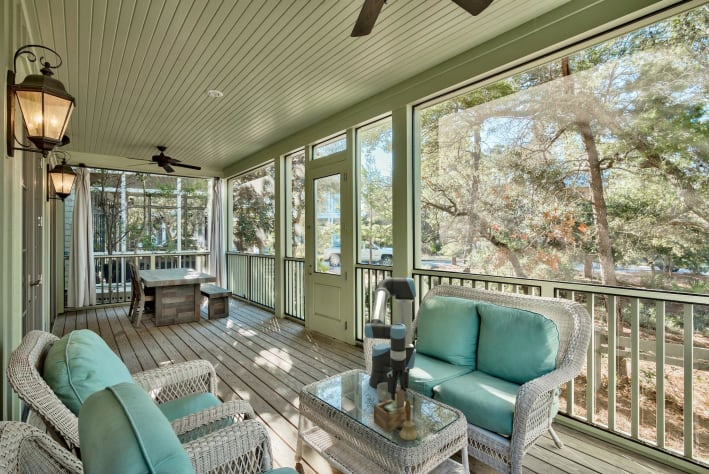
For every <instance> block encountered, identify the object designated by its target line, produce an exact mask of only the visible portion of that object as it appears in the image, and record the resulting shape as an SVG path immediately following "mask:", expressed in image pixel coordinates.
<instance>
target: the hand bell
mask: <svg viewBox="0 0 709 474" xmlns="http://www.w3.org/2000/svg"><path fill="white" fill-rule="evenodd" d="M405 402H406V404H405V410H406V414H407V416H406V419H407V421H405V422H404V424H403V426H402V429H401V430H400V431H399V432H398V433H399V436H400V438H401V439H403V440H404V441H413V440H416V439H417V438H418V433H417V431H416V430H415V427H414V423H413V421H410V413H411V412H412V411H411V410H412V409H411V402H410V400H409V399H406V400H405Z"/></svg>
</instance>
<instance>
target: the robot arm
mask: <svg viewBox="0 0 709 474" xmlns="http://www.w3.org/2000/svg"><path fill="white" fill-rule="evenodd" d="M415 283H416V282H415V280H414V278H412V277H387V278H384V279H383V280H381V281H379V283H377V285H376V287H375V290H374V293H373V294H374V301H373V307H372V312H371V316H370V317H371V318H370V321H369V323H365V325H364V328H363V329H364V331H363V332H364V337H365V338H367V339H376V340H378V339H379V340H390V344H389V343H380V344H377V345H375V346H373V347H372V349H371V373H370V377H369V380H368V385H369V386H370V387H372V388H374V389H377V385H378V384H379V383H384V382H387V384H388V392H389V393H390V394H391V399H392V405H393V406H394V407H397V394H396V387H397V386H398V380H399V386H400V387H399V388H401V389H403V390H404V398H405V396H406V392H407V390H408V389H409V377H410V374H409V373H410V370H413V369H414V368H415V364H416V363H415V362H416V355H417V349H416V348H415V346H414V344H413V342H412V303H413V302H414V301H415V298H417V290H416V284H415ZM390 297H394V299H395V301H396V302H397V307H396V308H397V311H396V312H397V313H396V314H397V317H396V319H397V320H396V321H397V323H396V324H386V323H385V318H386V313H387V305H388V299H390ZM397 388H398V387H397Z"/></svg>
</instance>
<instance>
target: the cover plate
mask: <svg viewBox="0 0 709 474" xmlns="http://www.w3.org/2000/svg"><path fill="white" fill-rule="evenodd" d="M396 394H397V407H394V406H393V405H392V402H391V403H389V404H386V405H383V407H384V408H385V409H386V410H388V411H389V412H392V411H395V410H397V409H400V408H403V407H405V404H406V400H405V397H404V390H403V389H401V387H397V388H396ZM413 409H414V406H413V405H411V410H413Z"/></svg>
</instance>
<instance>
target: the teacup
mask: <svg viewBox="0 0 709 474" xmlns="http://www.w3.org/2000/svg"><path fill="white" fill-rule="evenodd" d="M396 388H398V387H396ZM376 393H377V398H378V400H379V401H381V402H380V403H382V402H385V401H387V400H390V399H391V394H390V393H389V392H388V384H387V382H384V383H379V384H378V385H377V388H376Z"/></svg>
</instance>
